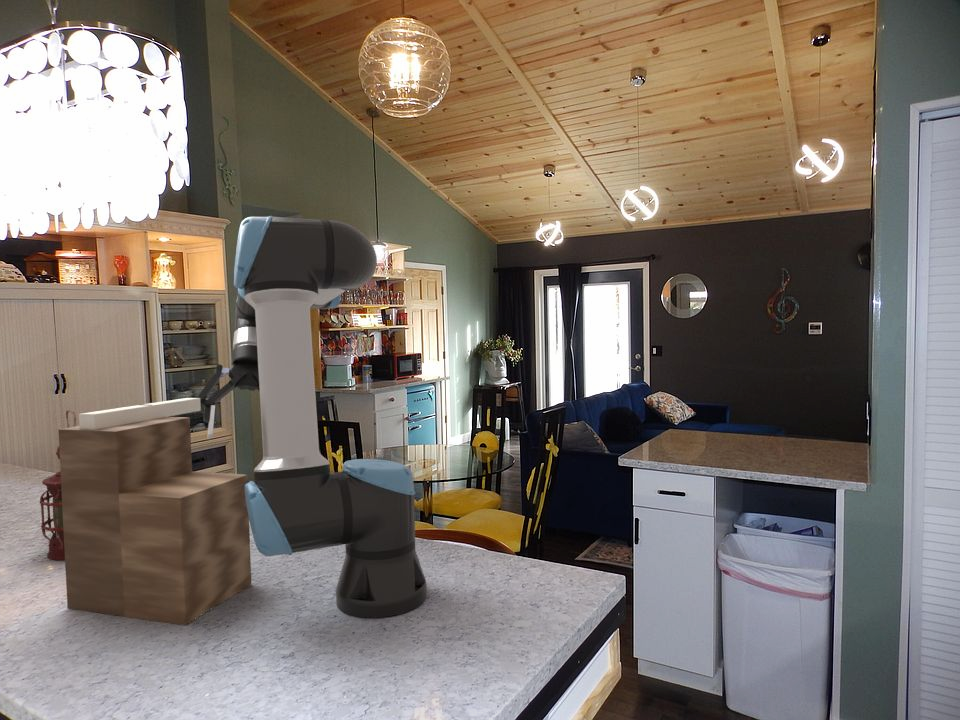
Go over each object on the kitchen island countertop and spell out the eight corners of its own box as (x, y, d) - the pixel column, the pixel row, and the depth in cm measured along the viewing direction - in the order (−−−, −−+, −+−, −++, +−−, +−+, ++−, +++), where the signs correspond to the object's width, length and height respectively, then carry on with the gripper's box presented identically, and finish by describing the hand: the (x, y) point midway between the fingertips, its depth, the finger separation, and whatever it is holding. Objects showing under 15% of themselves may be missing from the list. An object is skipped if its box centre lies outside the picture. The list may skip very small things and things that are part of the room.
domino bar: (187, 410, 125) (187, 397, 125) (200, 410, 124) (200, 397, 124) (79, 429, 102) (78, 413, 102) (94, 429, 101) (94, 413, 101)
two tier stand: (144, 571, 119) (137, 416, 118) (251, 584, 112) (245, 418, 111) (67, 608, 104) (58, 429, 102) (185, 625, 97) (177, 433, 95)
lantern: (118, 550, 131) (111, 409, 130) (48, 567, 123) (40, 415, 121) (102, 537, 140) (96, 404, 138) (37, 552, 131) (29, 410, 130)
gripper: (301, 365, 150) (300, 448, 140) (188, 352, 139) (178, 441, 129) (309, 350, 144) (308, 435, 134) (191, 335, 133) (181, 427, 123)
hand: (244, 438), depth 132 cm, fingers open, 13 cm apart
